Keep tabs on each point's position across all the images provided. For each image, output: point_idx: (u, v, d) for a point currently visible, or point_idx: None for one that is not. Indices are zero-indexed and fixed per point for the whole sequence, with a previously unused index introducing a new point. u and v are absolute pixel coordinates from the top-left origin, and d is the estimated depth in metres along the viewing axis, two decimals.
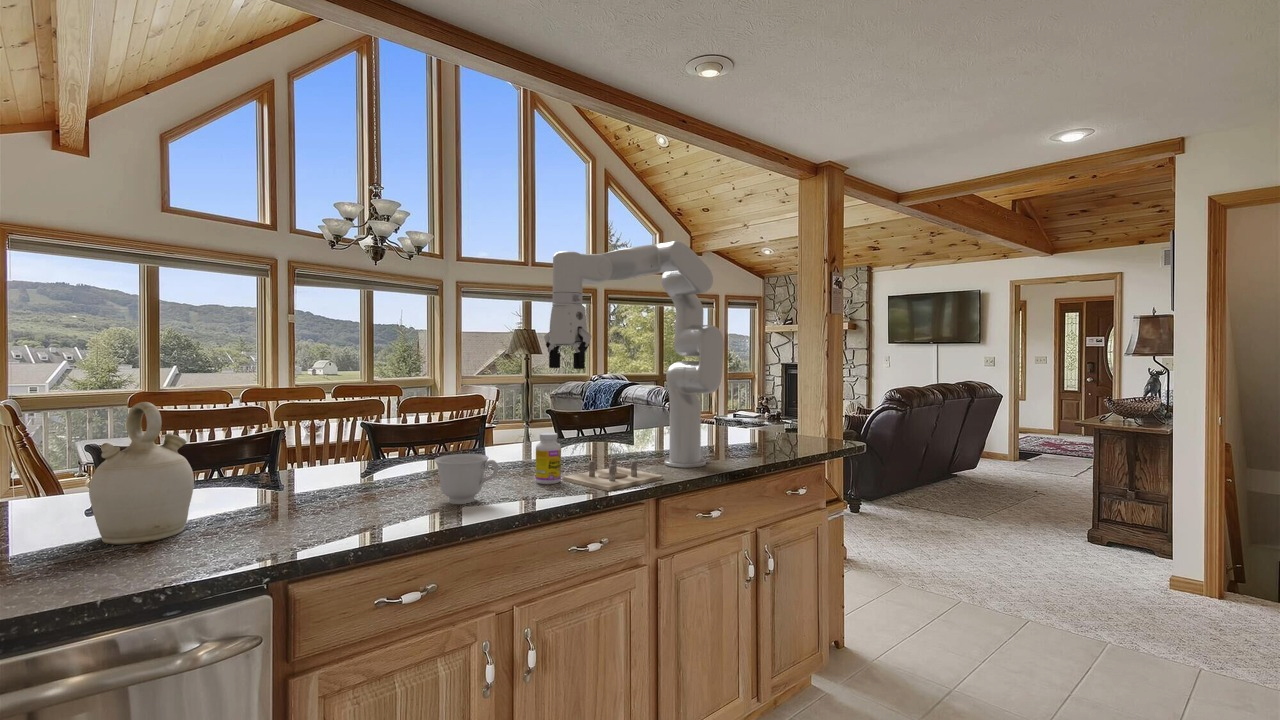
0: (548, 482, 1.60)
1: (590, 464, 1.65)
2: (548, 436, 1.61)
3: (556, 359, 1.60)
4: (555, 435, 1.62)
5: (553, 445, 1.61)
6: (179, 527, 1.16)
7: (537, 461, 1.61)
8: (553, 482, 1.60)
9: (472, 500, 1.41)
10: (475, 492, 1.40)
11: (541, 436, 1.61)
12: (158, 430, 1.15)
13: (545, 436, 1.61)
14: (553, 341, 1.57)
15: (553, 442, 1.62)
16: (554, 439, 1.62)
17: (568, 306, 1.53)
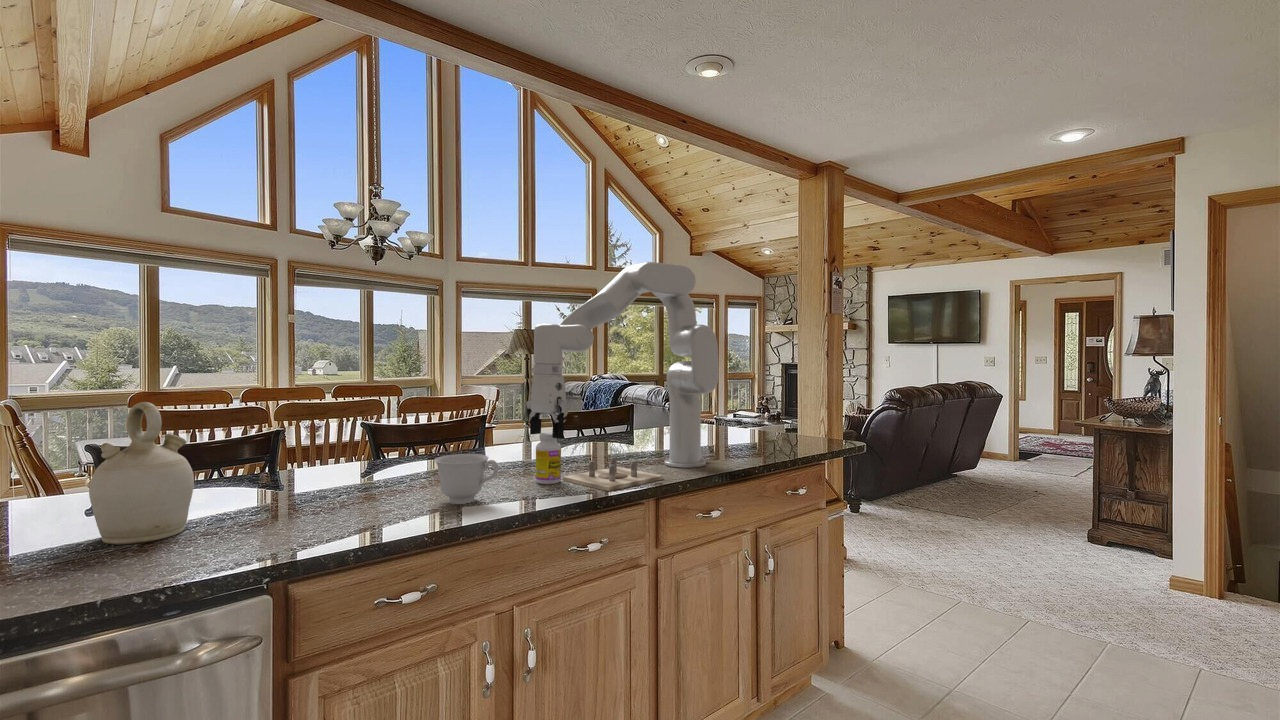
0: (548, 482, 1.60)
1: (590, 464, 1.65)
2: (548, 436, 1.61)
3: (537, 425, 1.66)
4: None
5: (553, 445, 1.61)
6: (179, 527, 1.16)
7: (537, 461, 1.61)
8: (553, 482, 1.60)
9: (472, 500, 1.41)
10: (475, 492, 1.40)
11: (541, 436, 1.61)
12: (158, 430, 1.15)
13: (545, 436, 1.61)
14: (534, 409, 1.63)
15: (553, 442, 1.62)
16: (554, 439, 1.62)
17: (548, 377, 1.59)
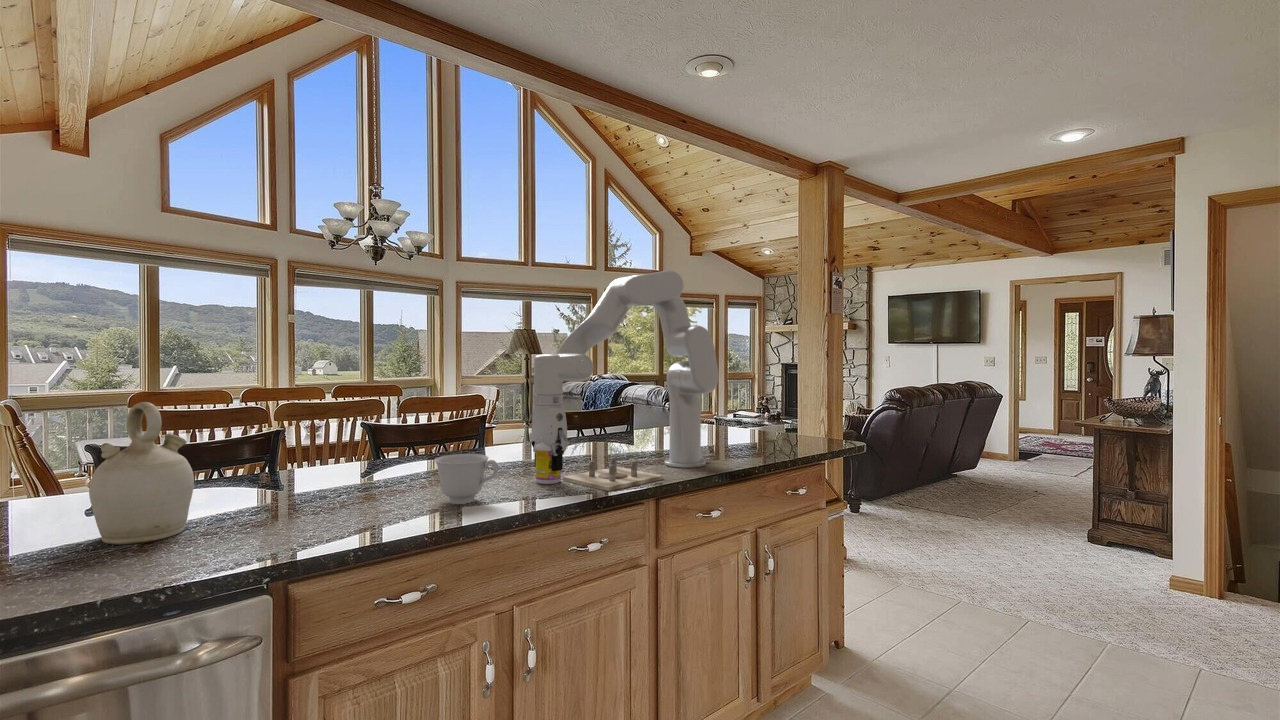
0: (548, 482, 1.60)
1: (590, 464, 1.65)
2: None
3: None
4: None
5: None
6: (179, 527, 1.16)
7: (537, 461, 1.61)
8: (553, 482, 1.60)
9: (472, 500, 1.41)
10: (475, 492, 1.40)
11: None
12: (158, 430, 1.15)
13: None
14: (535, 439, 1.64)
15: None
16: None
17: (548, 408, 1.59)
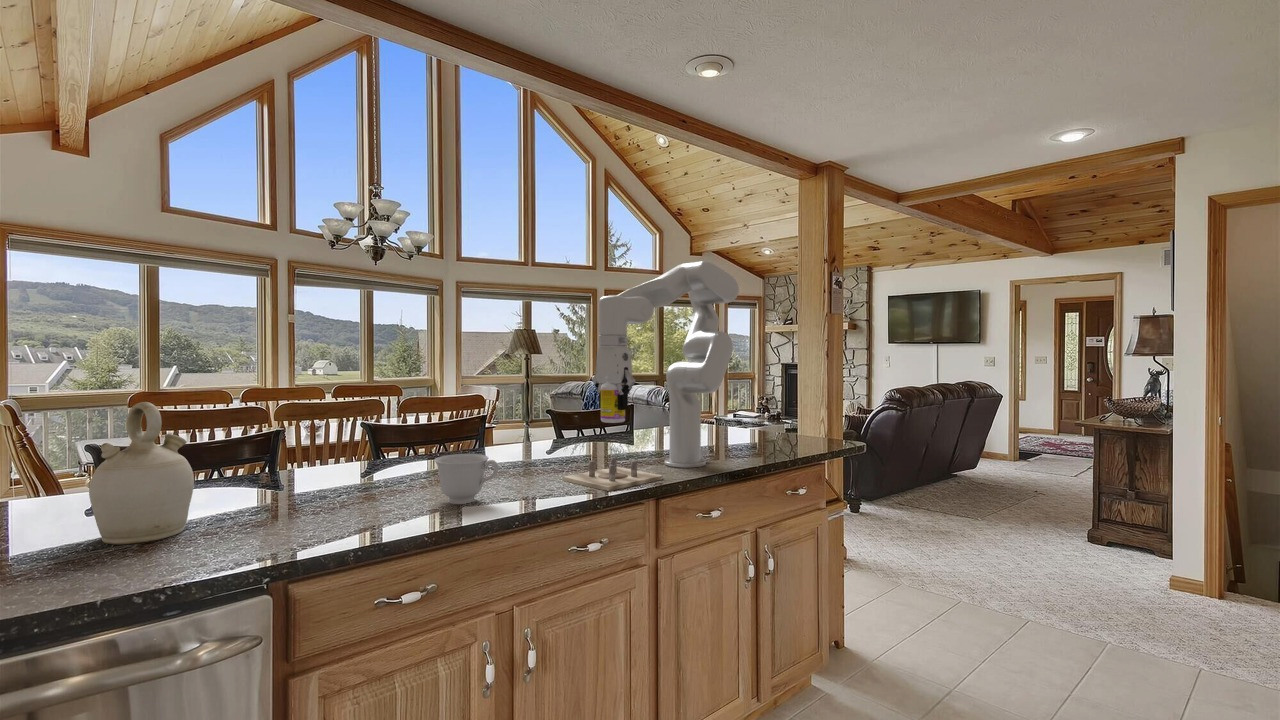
0: (614, 421, 1.63)
1: (590, 464, 1.65)
2: None
3: None
4: None
5: None
6: (179, 527, 1.16)
7: (603, 400, 1.64)
8: (619, 421, 1.63)
9: (472, 500, 1.41)
10: (475, 492, 1.40)
11: (606, 376, 1.64)
12: (158, 430, 1.15)
13: None
14: (600, 380, 1.66)
15: None
16: None
17: (614, 348, 1.62)
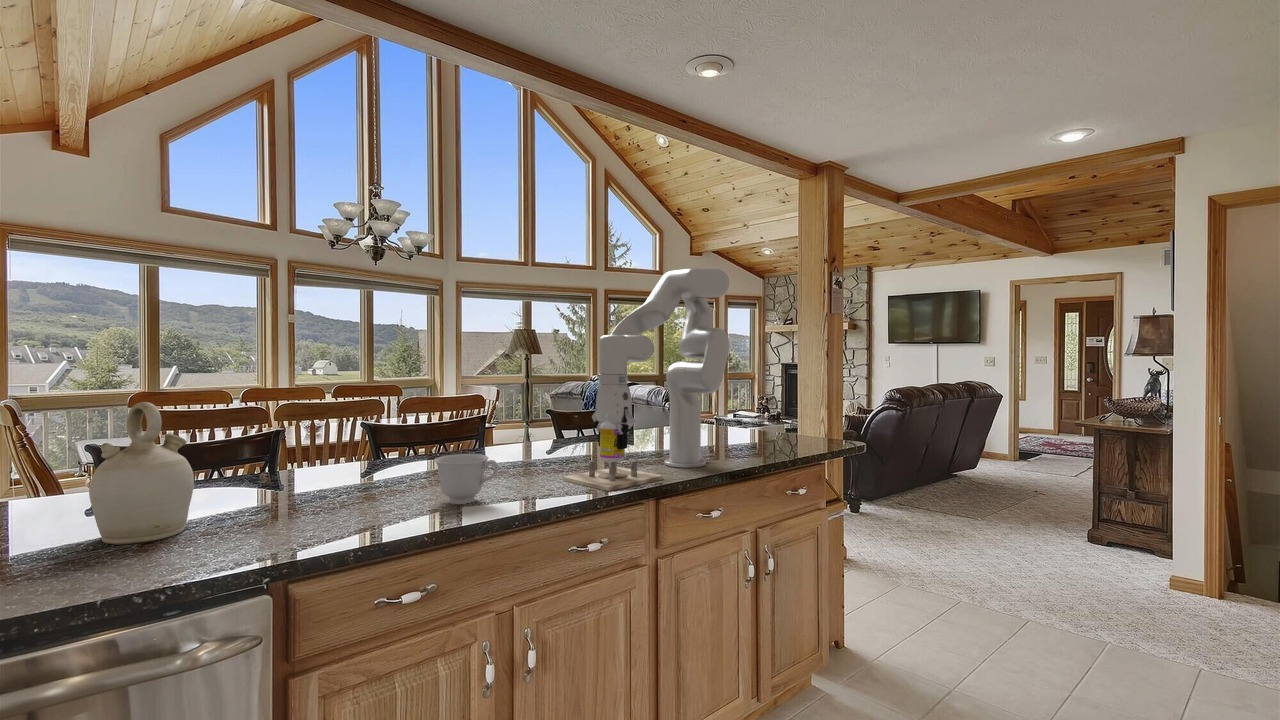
0: (613, 460, 1.63)
1: (590, 464, 1.65)
2: None
3: None
4: None
5: None
6: (179, 527, 1.16)
7: (602, 439, 1.64)
8: (618, 460, 1.63)
9: (472, 500, 1.41)
10: (475, 492, 1.40)
11: (606, 415, 1.64)
12: (158, 430, 1.15)
13: None
14: (600, 418, 1.66)
15: None
16: None
17: (615, 387, 1.62)
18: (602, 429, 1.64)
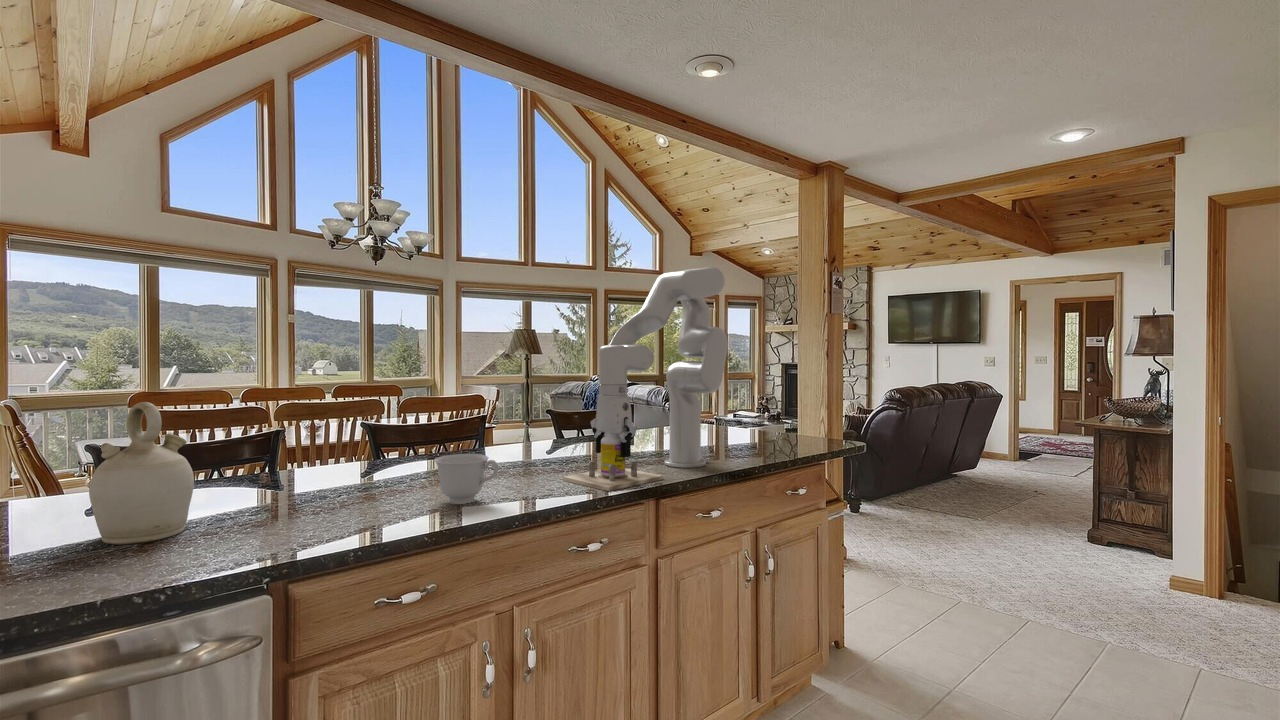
0: None
1: (590, 464, 1.65)
2: None
3: None
4: None
5: (619, 439, 1.64)
6: (179, 527, 1.16)
7: (603, 455, 1.64)
8: (619, 475, 1.64)
9: (472, 500, 1.41)
10: (475, 492, 1.40)
11: None
12: (158, 430, 1.15)
13: None
14: (600, 429, 1.66)
15: (618, 436, 1.65)
16: None
17: (615, 398, 1.62)
18: (603, 444, 1.64)
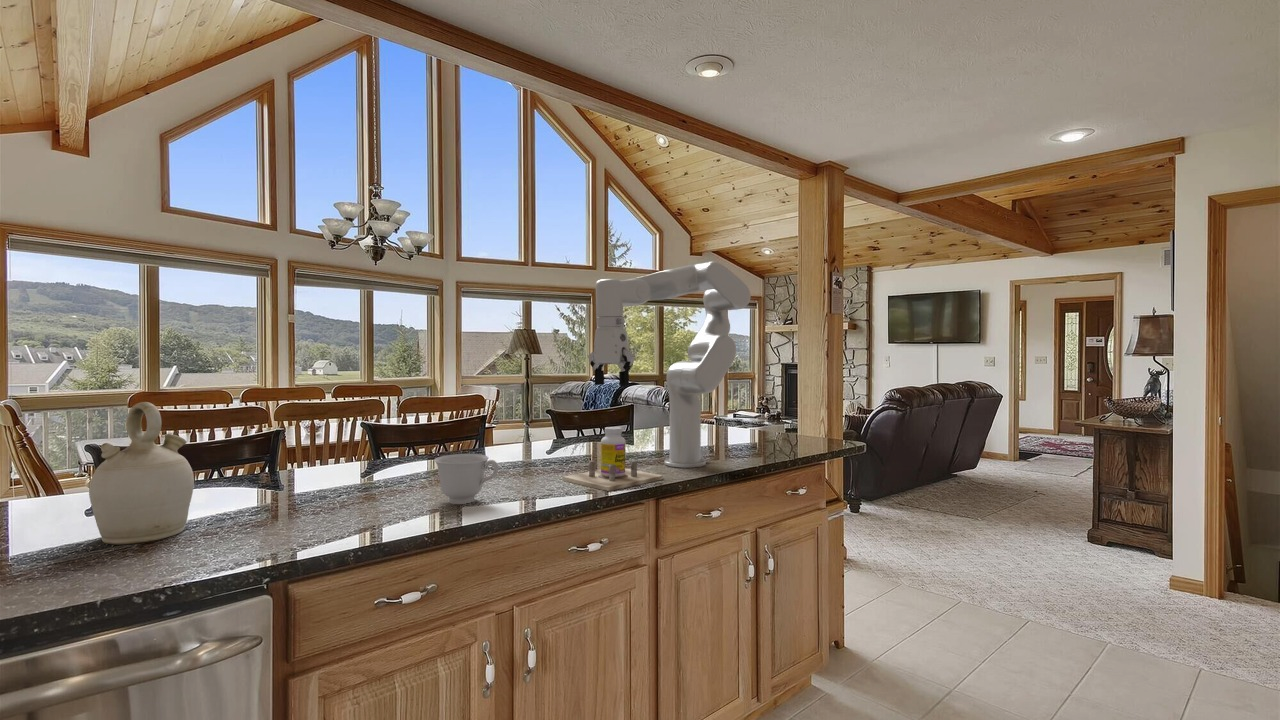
0: None
1: (590, 464, 1.65)
2: (614, 430, 1.64)
3: (600, 376, 1.75)
4: (620, 429, 1.65)
5: (619, 439, 1.64)
6: (179, 527, 1.16)
7: (603, 455, 1.64)
8: (619, 475, 1.64)
9: (472, 500, 1.41)
10: (475, 492, 1.40)
11: (607, 430, 1.65)
12: (158, 430, 1.15)
13: (611, 430, 1.64)
14: (598, 361, 1.72)
15: (619, 436, 1.65)
16: (619, 433, 1.65)
17: (612, 329, 1.68)
18: (603, 444, 1.64)
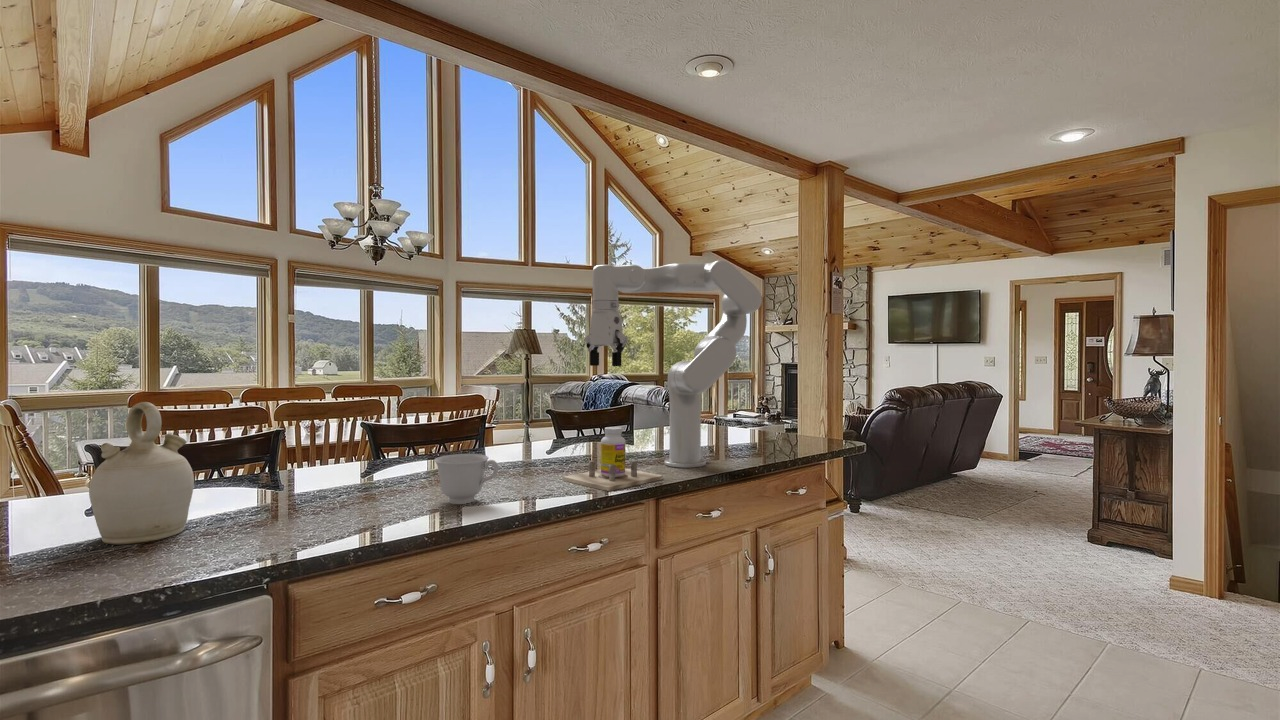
0: None
1: (590, 464, 1.65)
2: (614, 430, 1.64)
3: (596, 358, 1.84)
4: (620, 429, 1.65)
5: (619, 439, 1.64)
6: (179, 527, 1.16)
7: (603, 455, 1.64)
8: (619, 475, 1.64)
9: (472, 500, 1.41)
10: (475, 492, 1.40)
11: (607, 430, 1.65)
12: (158, 430, 1.15)
13: (611, 430, 1.64)
14: (593, 342, 1.82)
15: (618, 436, 1.65)
16: (619, 433, 1.65)
17: (607, 312, 1.77)
18: (603, 445, 1.64)
